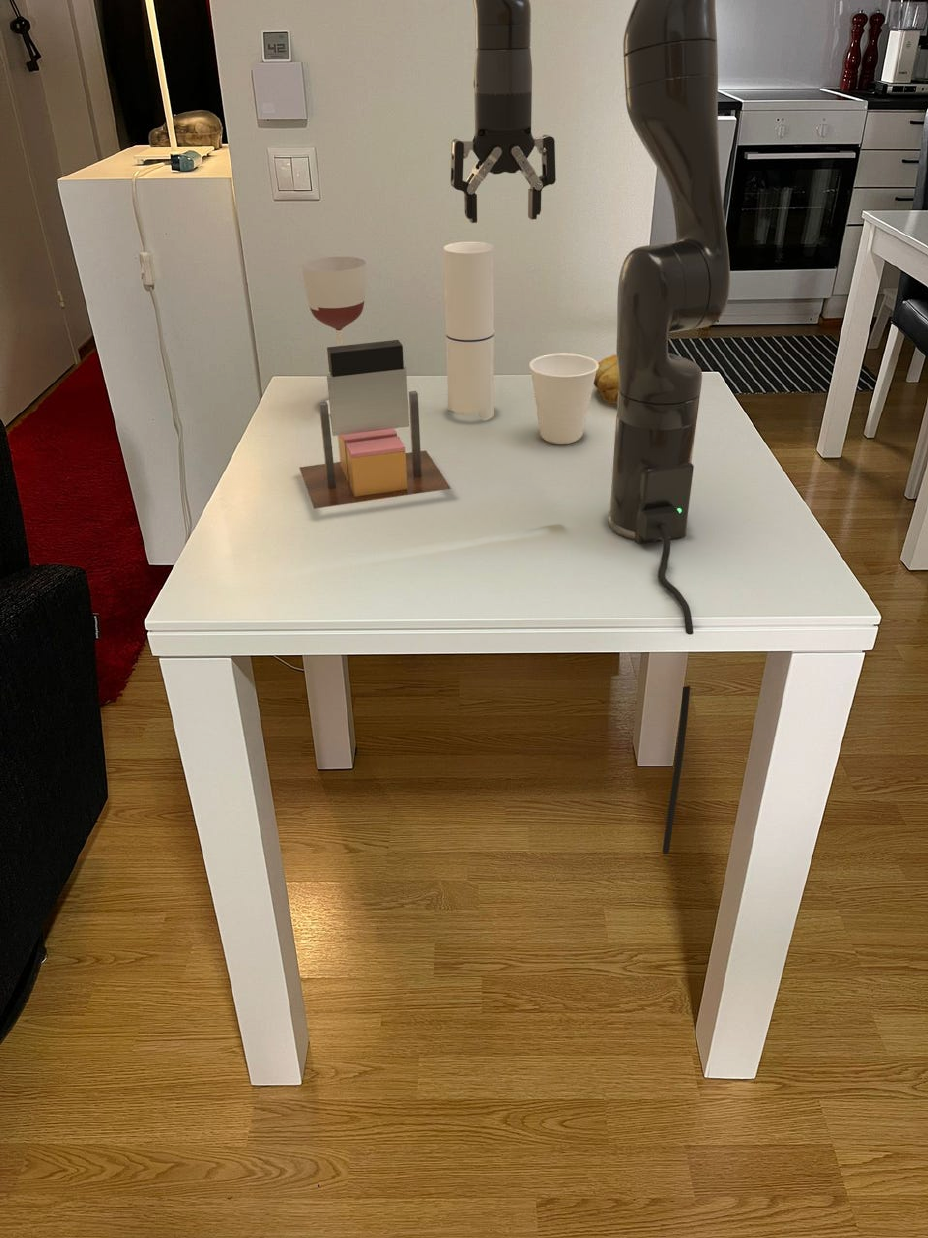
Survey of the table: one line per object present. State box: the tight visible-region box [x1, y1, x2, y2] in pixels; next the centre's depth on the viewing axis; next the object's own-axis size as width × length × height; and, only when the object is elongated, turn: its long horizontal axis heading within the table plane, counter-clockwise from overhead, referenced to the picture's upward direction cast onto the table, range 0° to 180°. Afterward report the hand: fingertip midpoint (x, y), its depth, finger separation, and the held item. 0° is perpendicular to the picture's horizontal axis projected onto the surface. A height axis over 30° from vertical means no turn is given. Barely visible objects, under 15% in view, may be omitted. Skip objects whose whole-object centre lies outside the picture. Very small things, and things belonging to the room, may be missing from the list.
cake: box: [337, 428, 407, 497], centre depth 128 cm, size 10×7×6 cm
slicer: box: [298, 390, 452, 509], centre depth 126 cm, size 13×18×13 cm
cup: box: [528, 352, 599, 445], centre depth 140 cm, size 10×10×11 cm
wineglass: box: [300, 256, 367, 415], centre depth 149 cm, size 9×10×22 cm
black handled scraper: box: [326, 339, 410, 437], centre depth 122 cm, size 2×10×11 cm, turn 106°
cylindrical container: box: [443, 241, 495, 422], centre depth 145 cm, size 7×7×25 cm
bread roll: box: [593, 354, 619, 404], centre depth 153 cm, size 13×10×8 cm
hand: (503, 220), depth 135 cm, fingers open, 8 cm apart
